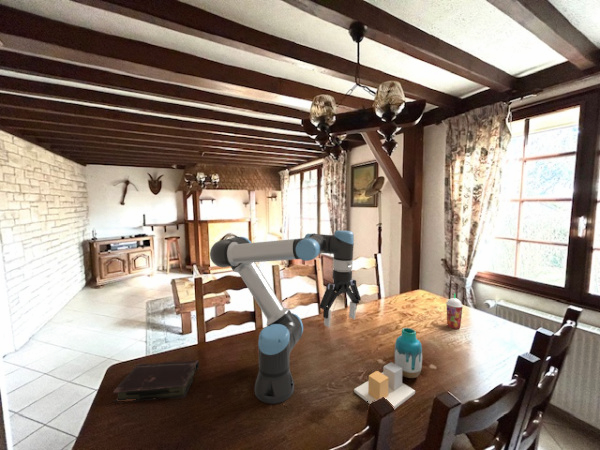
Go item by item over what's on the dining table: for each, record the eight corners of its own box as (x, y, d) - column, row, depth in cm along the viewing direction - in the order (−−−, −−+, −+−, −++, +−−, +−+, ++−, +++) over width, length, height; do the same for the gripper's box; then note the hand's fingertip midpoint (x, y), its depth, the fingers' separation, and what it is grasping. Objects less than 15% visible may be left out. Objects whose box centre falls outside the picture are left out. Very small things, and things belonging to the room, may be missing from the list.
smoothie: (462, 325, 153) (463, 292, 152) (461, 331, 146) (463, 296, 145) (445, 322, 158) (447, 290, 156) (445, 327, 151) (446, 294, 149)
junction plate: (385, 416, 87) (385, 392, 87) (354, 392, 98) (354, 371, 98) (415, 393, 98) (415, 372, 97) (383, 374, 109) (384, 355, 108)
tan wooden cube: (379, 401, 92) (379, 383, 91) (368, 393, 96) (368, 375, 95) (388, 395, 95) (388, 377, 94) (376, 388, 99) (377, 370, 98)
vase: (419, 386, 101) (421, 339, 100) (391, 377, 107) (392, 332, 106) (423, 372, 110) (424, 328, 109) (397, 364, 116) (398, 322, 115)
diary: (139, 373, 111) (138, 362, 111) (199, 369, 113) (198, 358, 113) (111, 405, 92) (111, 392, 92) (184, 400, 95) (184, 387, 95)
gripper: (324, 276, 92) (321, 333, 93) (371, 268, 106) (368, 318, 108) (311, 271, 98) (309, 325, 100) (357, 264, 112) (355, 311, 114)
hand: (340, 321), depth 104 cm, fingers open, 13 cm apart
